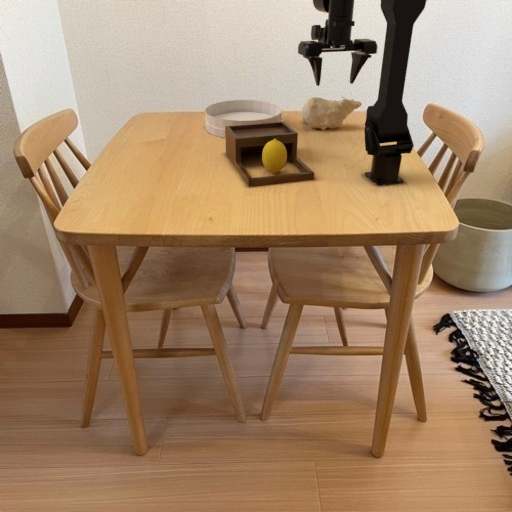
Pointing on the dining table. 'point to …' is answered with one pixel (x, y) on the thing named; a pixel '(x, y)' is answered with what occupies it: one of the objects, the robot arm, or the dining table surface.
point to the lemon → (274, 156)
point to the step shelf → (255, 139)
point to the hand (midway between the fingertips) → (334, 84)
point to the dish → (239, 114)
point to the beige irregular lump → (327, 112)
